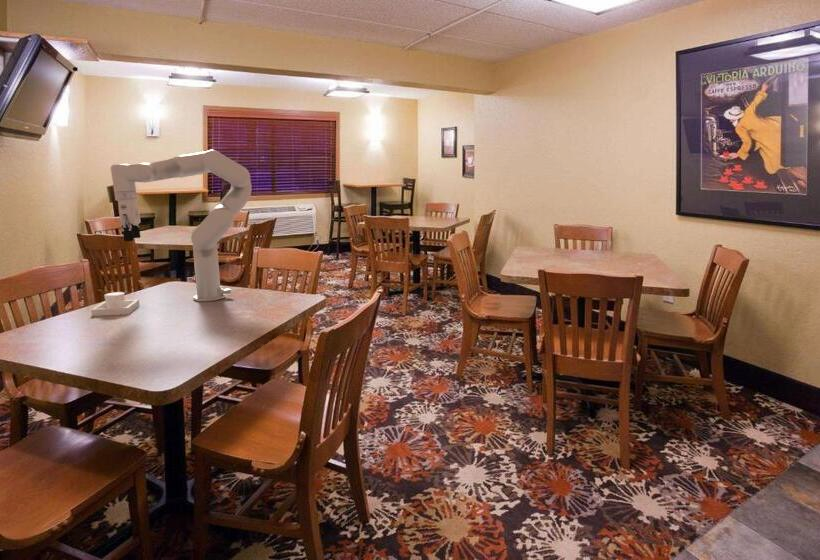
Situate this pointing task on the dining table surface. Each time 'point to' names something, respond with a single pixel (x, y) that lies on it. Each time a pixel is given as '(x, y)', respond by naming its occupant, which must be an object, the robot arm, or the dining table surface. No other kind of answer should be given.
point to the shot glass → (115, 299)
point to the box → (103, 309)
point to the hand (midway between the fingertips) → (132, 239)
